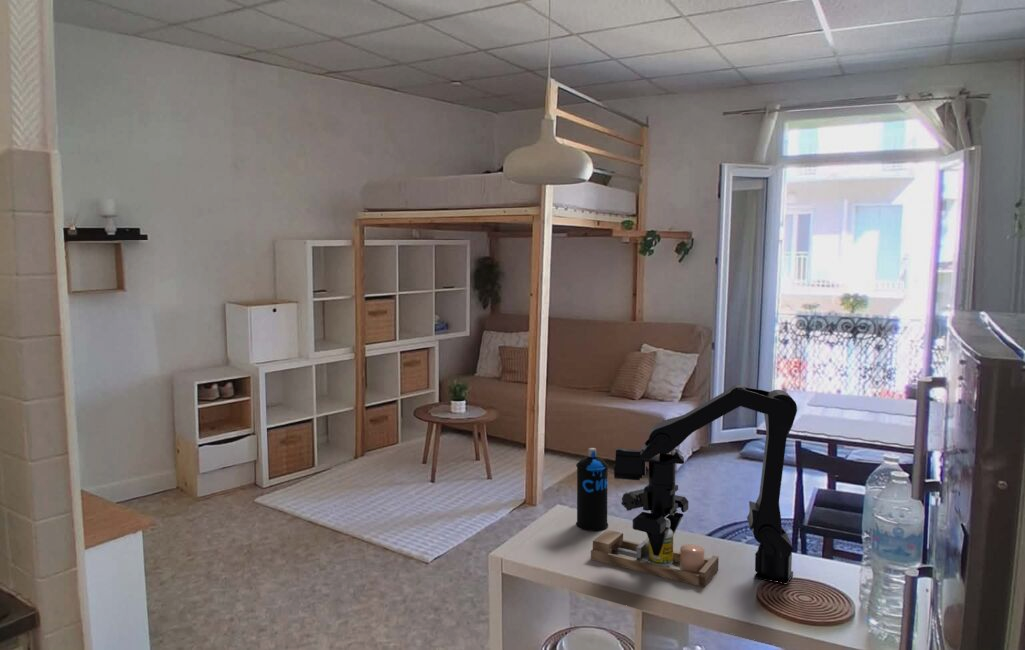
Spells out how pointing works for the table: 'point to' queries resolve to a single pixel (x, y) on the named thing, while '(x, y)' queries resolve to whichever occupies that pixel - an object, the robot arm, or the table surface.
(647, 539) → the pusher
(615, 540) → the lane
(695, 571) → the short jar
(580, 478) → the aerosol can
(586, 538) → the table surface
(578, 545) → the table surface
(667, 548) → the supplement bottle
